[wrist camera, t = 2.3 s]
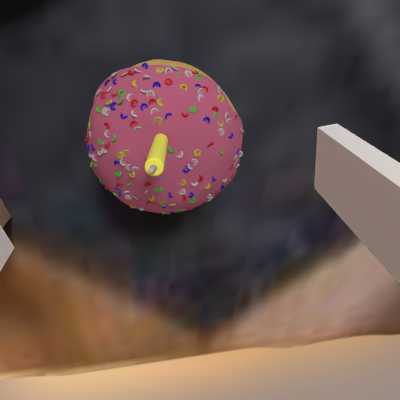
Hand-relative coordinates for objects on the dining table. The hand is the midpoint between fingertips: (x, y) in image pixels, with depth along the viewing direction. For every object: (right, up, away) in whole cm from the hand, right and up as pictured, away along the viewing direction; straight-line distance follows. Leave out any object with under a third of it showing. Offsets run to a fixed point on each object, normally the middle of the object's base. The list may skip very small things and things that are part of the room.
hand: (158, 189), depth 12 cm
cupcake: (-1, +5, +9) cm, 10 cm away
